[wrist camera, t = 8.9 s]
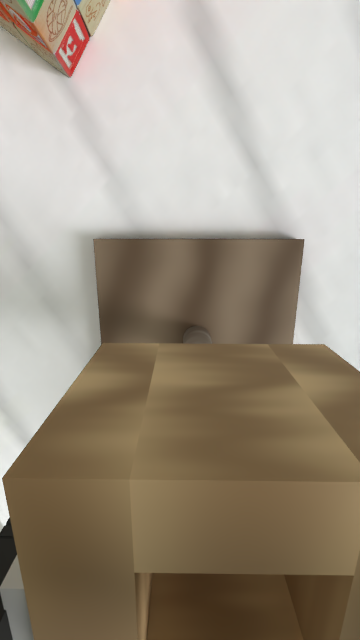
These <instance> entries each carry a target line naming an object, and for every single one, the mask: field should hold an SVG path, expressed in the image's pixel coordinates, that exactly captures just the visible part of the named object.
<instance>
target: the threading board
mask: <svg viewBox="0 0 360 640" xmlns="http://www.w3.org/2000/svg"><path fill="white" fill-rule="evenodd" d="M303 247H304V239H94V253H95V266H96V279H97V292H98V305H99V318H100V331H101V345H102V344H103V343H183V344H293V337H294V328H295V319H296V310H297V301H298V292H299V283H300V274H301V265H302V256H303Z"/></svg>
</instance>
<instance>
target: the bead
mask: <svg viewBox="0 0 360 640" xmlns="http://www.w3.org/2000/svg"><path fill="white" fill-rule="evenodd" d="M2 480H3V485H4V490H5V495H6V500H7V505H8V510H9V515H10V520H11V525H12V531H13V536H14V541H15V546H16V551H17V556H18V561H19V566H20V571H21V576H22V581H23V586H24V591H25V596H26V601H27V607H28V612H29V617H30V622H31V627H32V632H33V637H34V640H360V372H359V371H358V370H357V369H356V368H354V367H353V366H352V365H350V364H349V363H348V362H346V361H345V360H344V359H343V358H341V357H340V356H339V355H337V354H336V353H335V352H333V351H332V350H331V349H330V348H328V347H327V346H326V345H324V344H183V343H103V344H102V345H101V346H100V348H99V349H98V350H97V352H96V353H95V354H94V356H93V357H92V358H91V360H90V361H89V362H88V364H87V365H86V366H85V368H84V369H83V370H82V372H81V373H80V374H79V376H78V377H77V378H76V380H75V381H74V382H73V384H72V385H71V386H70V388H69V389H68V391H67V392H66V393H65V395H64V396H63V397H62V399H61V400H60V401H59V403H58V404H57V405H56V407H55V408H54V409H53V411H52V412H51V413H50V415H49V416H48V417H47V419H46V420H45V421H44V423H43V424H42V425H41V427H40V428H39V429H38V431H37V432H36V433H35V435H34V436H33V437H32V439H31V440H30V442H29V443H28V444H27V446H26V447H25V448H24V450H23V451H22V452H21V454H20V455H19V456H18V458H17V459H16V460H15V462H14V463H13V464H12V466H11V467H10V468H9V470H8V471H7V472H6V474H5V475H4V476H3V478H2Z"/></svg>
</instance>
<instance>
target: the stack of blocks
mask: <svg viewBox="0 0 360 640" xmlns="http://www.w3.org/2000/svg"><path fill="white" fill-rule="evenodd" d="M109 2H110V0H0V26H2V27H3V28H4V29H6V30H7V31H8V32H10V33H11V34H12V35H14V36H15V37H16V38H18V39H19V40H20V41H21V42H23V43H24V44H25V45H27V46H28V47H29V48H31V49H32V50H34V51H35V52H36V53H37V54H38V55H39V56H41V57H42V58H43V59H44V60H46V61H47V62H48V63H50V64H51V65H52V66H54V67H55V68H56V69H58V70H59V71H60V72H62V73H63V74H65V75H66V76H68V77H70V78H71V76H72V74H73V72H74V70H75V68H76V66H77V64H78V61H79V59H80V57H81V55H82V53H83V51H84V49H85V47H86V44H87V43H88V41H89V37H90V36H93V34H94V32H95V30H96V28H97V26H98V24H99V22H100V20H101V18H102V16H103V14H104V12H105V10H106V8H107V6H108V4H109Z"/></svg>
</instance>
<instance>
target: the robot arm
mask: <svg viewBox="0 0 360 640" xmlns="http://www.w3.org/2000/svg"><path fill="white" fill-rule="evenodd" d="M0 640H34V637H33V632H32V627H31V622H30V617H29V612H28V607H27V601H26V596H25V591H24V586H23V581H22V576H21V571H20V566H19V561H18V556H17V551H16V546H15V541H14V536H13V531H12V525H11V520H10V518H9V519H8V521H7V523H6V526H4V527H3V529H2V531H1V532H0Z"/></svg>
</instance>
